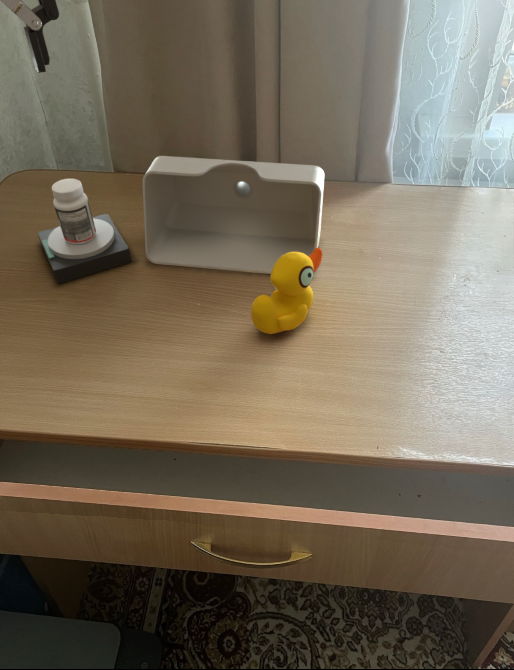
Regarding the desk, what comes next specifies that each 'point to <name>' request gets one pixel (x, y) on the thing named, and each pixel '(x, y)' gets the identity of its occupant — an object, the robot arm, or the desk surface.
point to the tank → (230, 212)
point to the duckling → (287, 293)
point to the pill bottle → (73, 211)
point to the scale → (85, 251)
